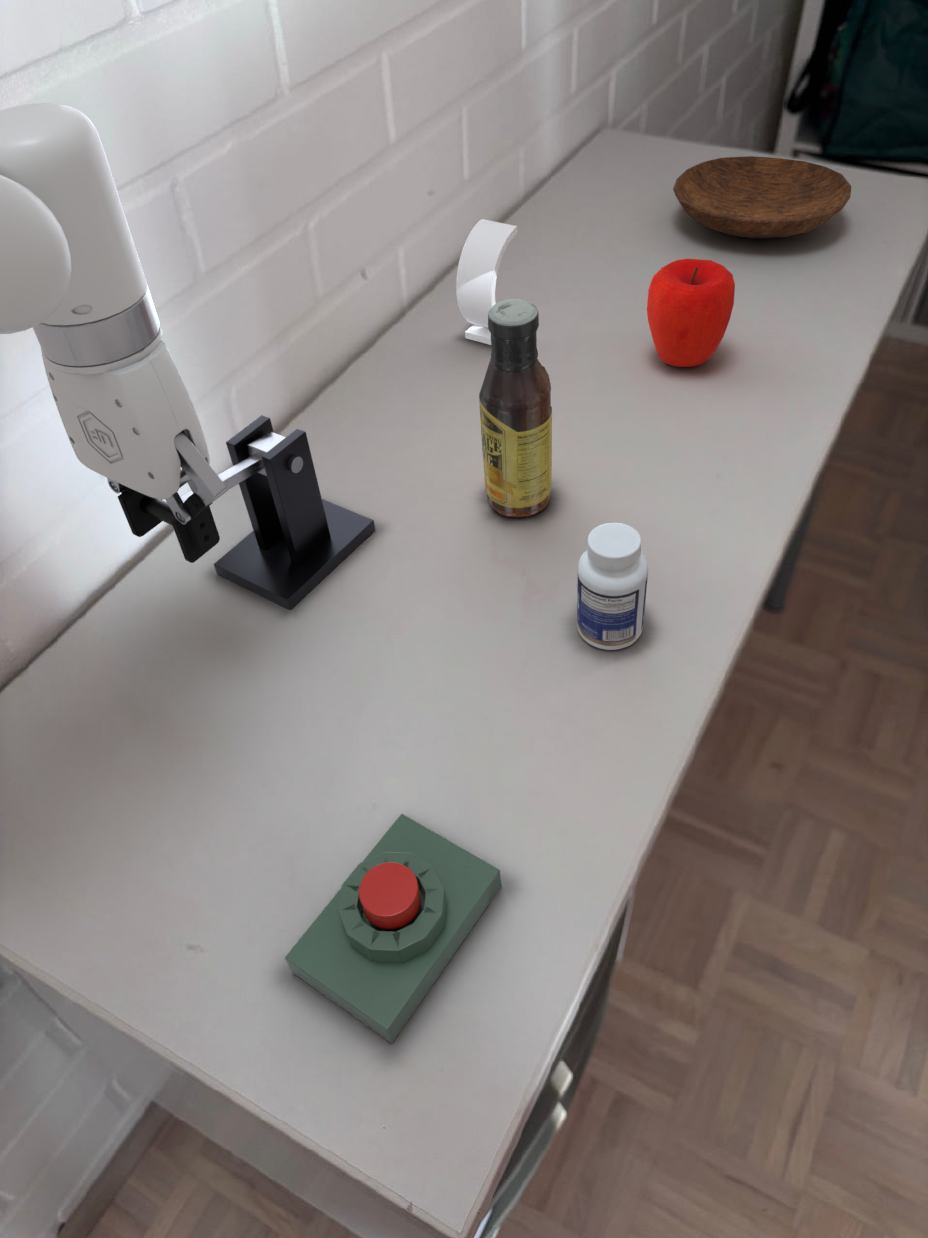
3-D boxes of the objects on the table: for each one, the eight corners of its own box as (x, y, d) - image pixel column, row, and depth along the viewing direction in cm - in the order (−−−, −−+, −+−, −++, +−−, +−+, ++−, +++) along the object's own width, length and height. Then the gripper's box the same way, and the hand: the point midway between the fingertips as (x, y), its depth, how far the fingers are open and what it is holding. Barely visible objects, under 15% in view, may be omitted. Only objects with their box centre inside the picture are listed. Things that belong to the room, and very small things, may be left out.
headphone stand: (521, 326, 111) (517, 226, 102) (494, 351, 108) (488, 249, 99) (487, 318, 113) (481, 218, 104) (460, 342, 110) (451, 241, 101)
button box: (392, 1044, 56) (382, 1018, 53) (291, 972, 60) (277, 944, 57) (501, 886, 63) (498, 855, 60) (405, 829, 66) (398, 798, 63)
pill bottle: (597, 595, 80) (600, 507, 73) (654, 619, 78) (663, 530, 71) (564, 635, 77) (564, 547, 70) (622, 662, 75) (628, 573, 68)
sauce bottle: (482, 484, 92) (467, 292, 77) (546, 475, 92) (543, 282, 77) (491, 528, 87) (476, 333, 73) (558, 519, 87) (557, 323, 73)
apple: (665, 391, 100) (674, 295, 92) (629, 351, 106) (634, 258, 98) (740, 371, 101) (755, 275, 94) (700, 332, 107) (711, 239, 99)
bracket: (290, 610, 82) (255, 494, 72) (216, 573, 86) (174, 459, 76) (375, 529, 88) (353, 414, 79) (303, 499, 92) (274, 385, 83)
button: (397, 940, 57) (393, 927, 55) (351, 910, 58) (346, 897, 57) (432, 893, 59) (429, 880, 57) (386, 865, 60) (383, 851, 59)
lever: (188, 542, 71) (182, 515, 70) (143, 520, 73) (136, 494, 72) (305, 468, 80) (302, 443, 78) (262, 451, 82) (258, 426, 80)
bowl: (826, 270, 115) (835, 229, 111) (651, 247, 122) (653, 208, 119) (856, 202, 126) (864, 164, 123) (694, 185, 134) (697, 148, 130)
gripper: (-32, 318, 62) (68, 530, 75) (143, 386, 55) (221, 608, 68) (59, 271, 66) (139, 479, 79) (233, 328, 59) (290, 547, 72)
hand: (176, 536), depth 73 cm, fingers closed on lever, 5 cm apart
